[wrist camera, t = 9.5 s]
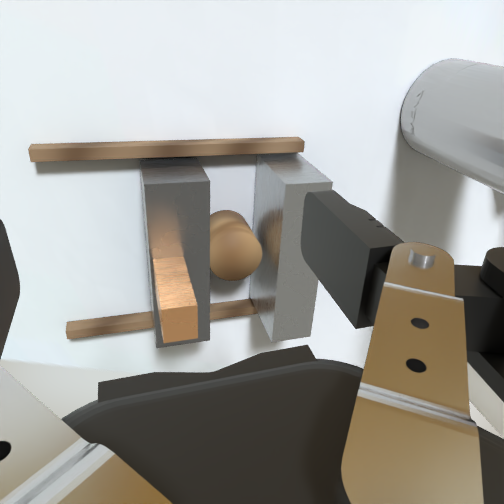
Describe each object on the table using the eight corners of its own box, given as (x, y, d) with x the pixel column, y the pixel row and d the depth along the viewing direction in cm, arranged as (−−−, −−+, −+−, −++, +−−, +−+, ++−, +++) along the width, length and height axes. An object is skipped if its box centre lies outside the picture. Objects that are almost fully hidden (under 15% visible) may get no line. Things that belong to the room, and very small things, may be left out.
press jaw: (197, 157, 39) (230, 218, 28) (199, 303, 47) (226, 395, 36) (139, 159, 38) (151, 224, 27) (151, 309, 45) (164, 406, 35)
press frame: (298, 136, 41) (304, 141, 40) (282, 301, 50) (286, 309, 49) (31, 144, 35) (28, 149, 34) (68, 329, 44) (67, 339, 43)
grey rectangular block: (297, 152, 42) (332, 181, 35) (283, 291, 50) (310, 336, 43) (256, 154, 41) (285, 184, 34) (249, 295, 49) (271, 342, 42)
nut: (248, 208, 43) (263, 230, 39) (246, 252, 46) (260, 277, 42) (199, 212, 42) (208, 235, 38) (199, 256, 44) (208, 283, 40)
